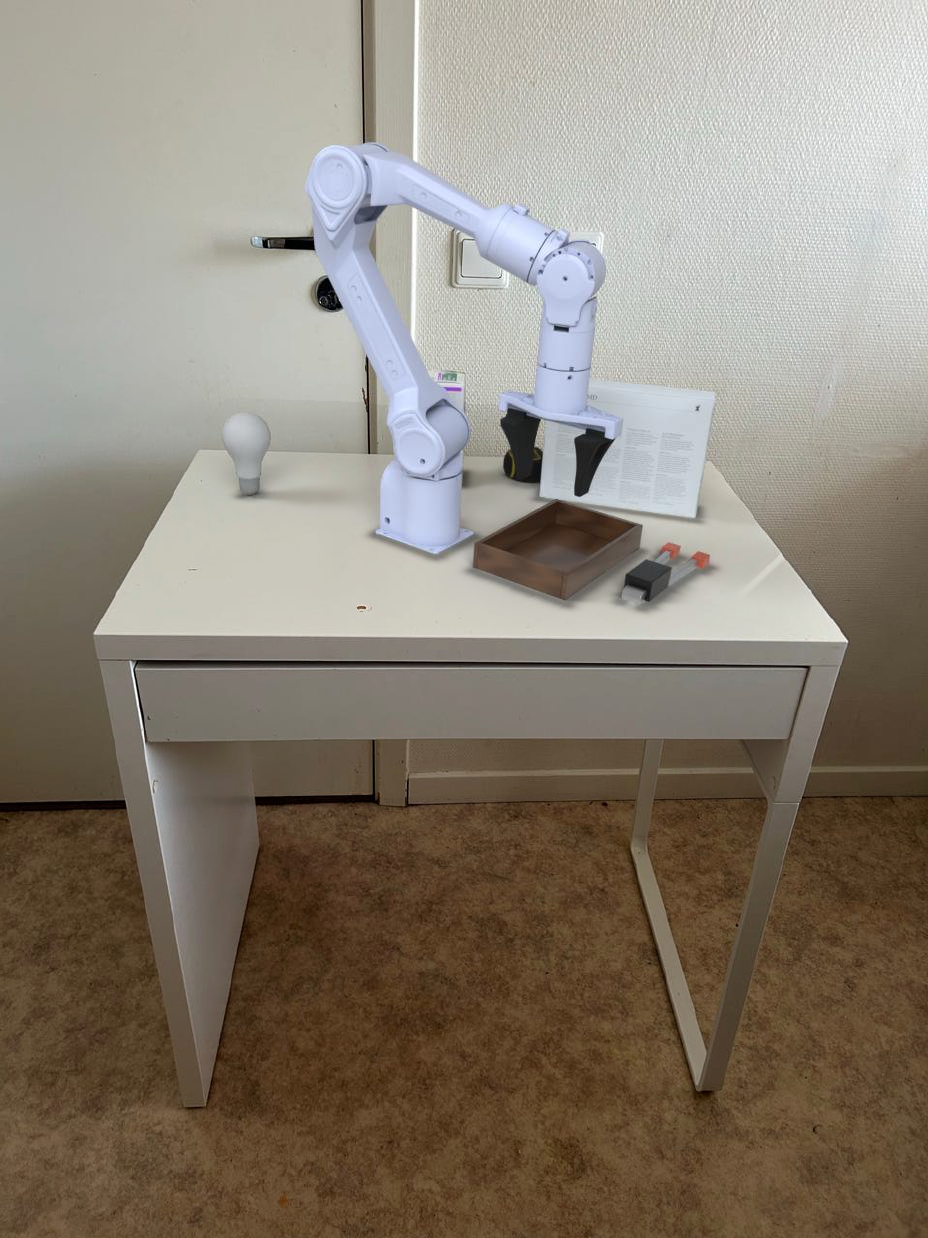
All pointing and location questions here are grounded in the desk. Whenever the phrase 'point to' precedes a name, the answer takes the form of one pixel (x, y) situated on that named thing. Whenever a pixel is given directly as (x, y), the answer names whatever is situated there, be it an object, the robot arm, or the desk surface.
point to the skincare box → (637, 449)
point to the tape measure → (536, 469)
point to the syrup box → (452, 389)
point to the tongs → (658, 574)
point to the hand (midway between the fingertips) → (551, 485)
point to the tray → (557, 548)
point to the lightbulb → (247, 447)
